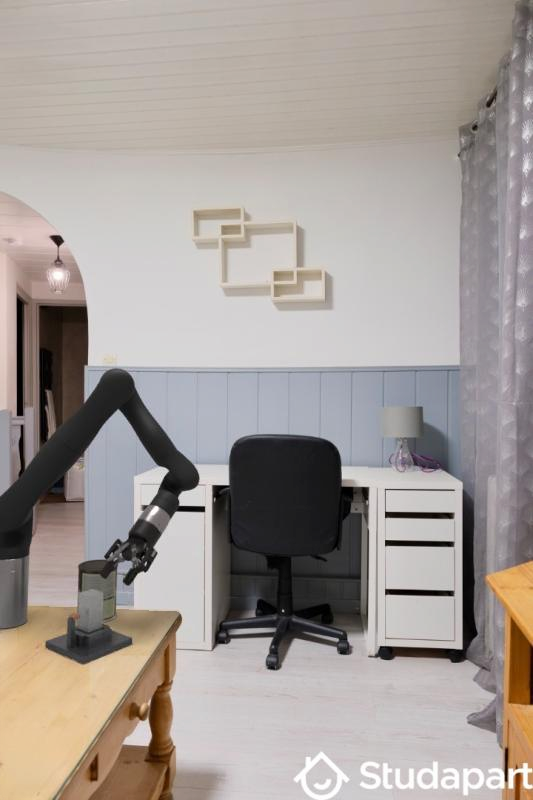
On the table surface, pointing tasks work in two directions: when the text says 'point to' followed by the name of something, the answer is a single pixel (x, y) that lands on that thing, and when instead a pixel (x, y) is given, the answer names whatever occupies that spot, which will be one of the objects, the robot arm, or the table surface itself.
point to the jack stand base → (87, 642)
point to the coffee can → (99, 585)
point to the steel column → (90, 611)
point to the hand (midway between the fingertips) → (113, 580)
